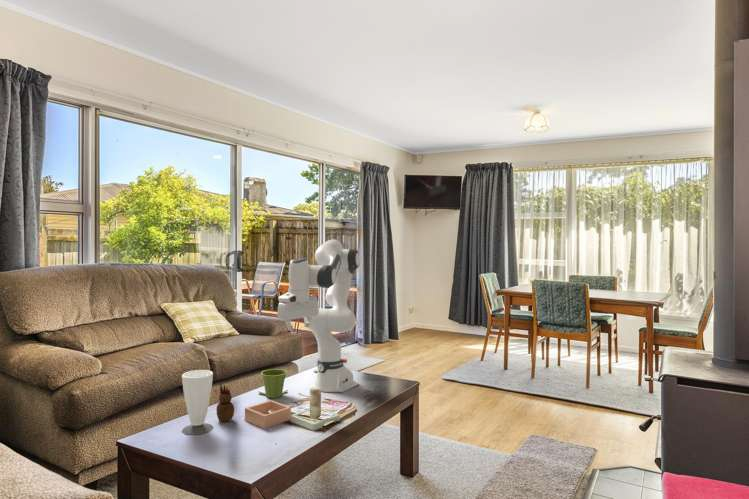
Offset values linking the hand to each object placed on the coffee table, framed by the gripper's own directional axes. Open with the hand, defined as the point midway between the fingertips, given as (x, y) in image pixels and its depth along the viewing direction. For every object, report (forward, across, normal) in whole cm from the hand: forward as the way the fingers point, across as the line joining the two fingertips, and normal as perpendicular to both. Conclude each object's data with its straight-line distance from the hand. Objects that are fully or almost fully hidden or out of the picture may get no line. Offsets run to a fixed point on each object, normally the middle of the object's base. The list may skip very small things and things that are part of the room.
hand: (298, 328), depth 212 cm
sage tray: (+35, +4, +15) cm, 38 cm away
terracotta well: (+35, +16, 0) cm, 39 cm away
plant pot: (+35, -4, -22) cm, 42 cm away
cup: (+35, +40, -12) cm, 55 cm away
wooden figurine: (+35, +28, -12) cm, 47 cm away
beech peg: (+34, +4, +15) cm, 37 cm away
